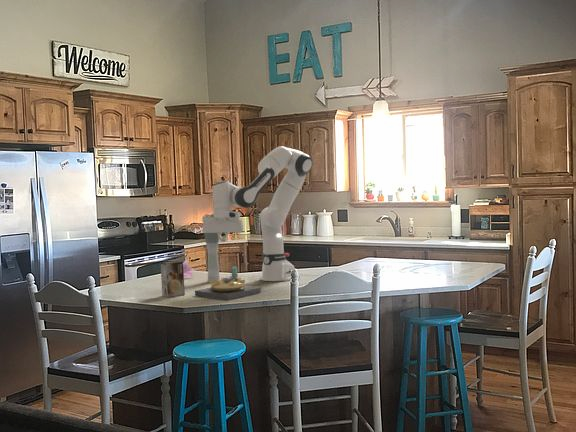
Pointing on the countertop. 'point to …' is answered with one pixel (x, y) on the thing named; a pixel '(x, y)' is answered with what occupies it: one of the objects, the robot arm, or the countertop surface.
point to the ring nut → (228, 283)
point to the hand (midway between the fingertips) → (223, 241)
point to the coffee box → (172, 279)
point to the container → (212, 256)
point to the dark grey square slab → (227, 293)
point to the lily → (187, 270)
